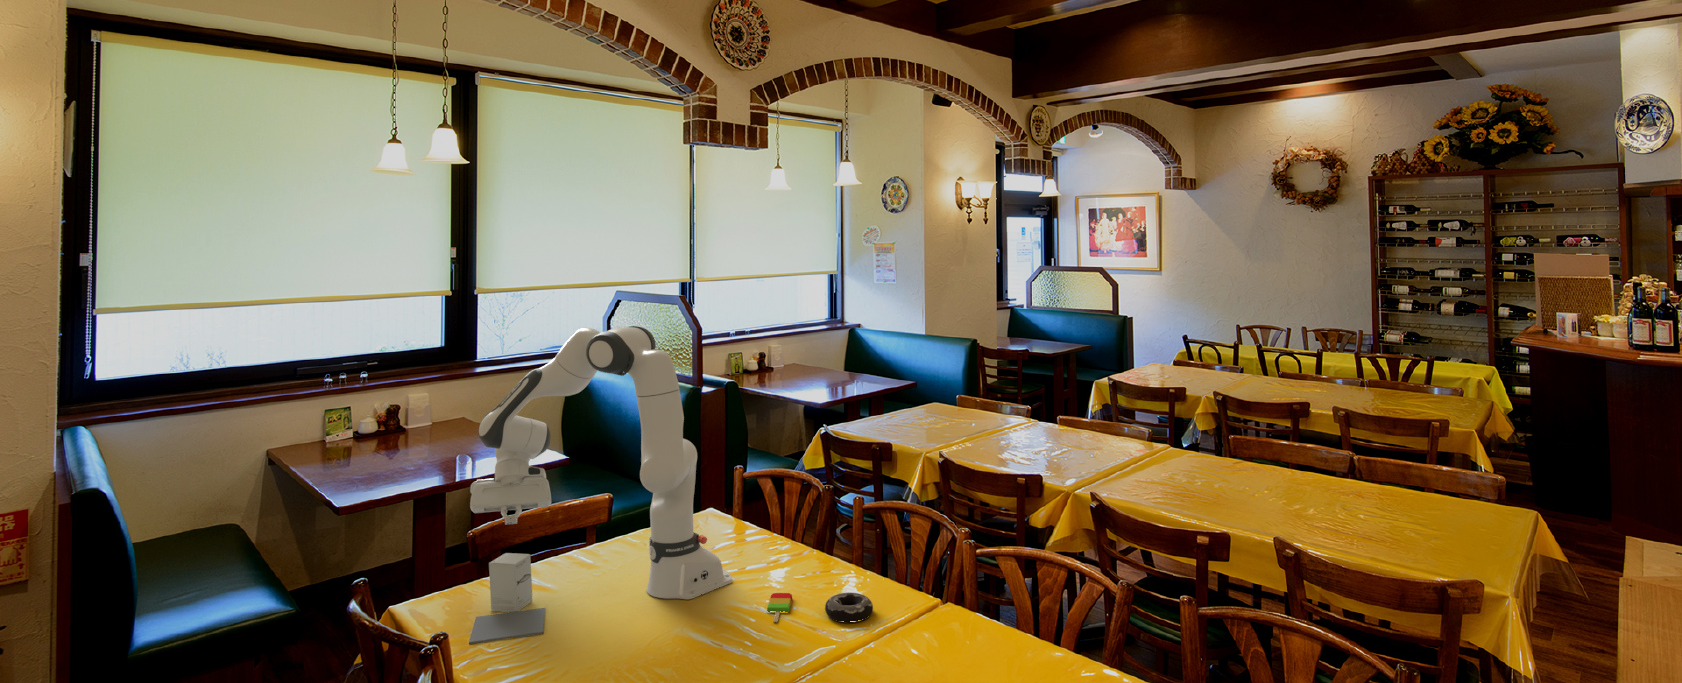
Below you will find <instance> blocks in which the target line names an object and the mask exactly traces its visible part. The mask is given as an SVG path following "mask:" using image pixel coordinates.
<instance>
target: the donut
mask: <svg viewBox="0 0 1682 683" xmlns="http://www.w3.org/2000/svg"><path fill="white" fill-rule="evenodd" d="M824 607H825V608H824V610H825V613H826V614H827V616H828V618H829V619H831V618H832V619H831V620H833V619H834V620H833V621H835V620H837V621H836V622H838V621H844V622H850V621H858V620H862V619H865V618H867V617H868V616H869V617H870V616H871V615H872V613H873V611H874V610H873V609H874V605H873V602H872V600H871V599H870V598H869V597H868V596H866V595H864V594H861V593H857V592H842V593H837V594H835V595H832V596H831V597H829V598H828V599H827V600H826V602H825V606H824ZM869 617H868V618H869ZM868 618H867V619H868ZM865 620H866V619H865Z"/></svg>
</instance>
